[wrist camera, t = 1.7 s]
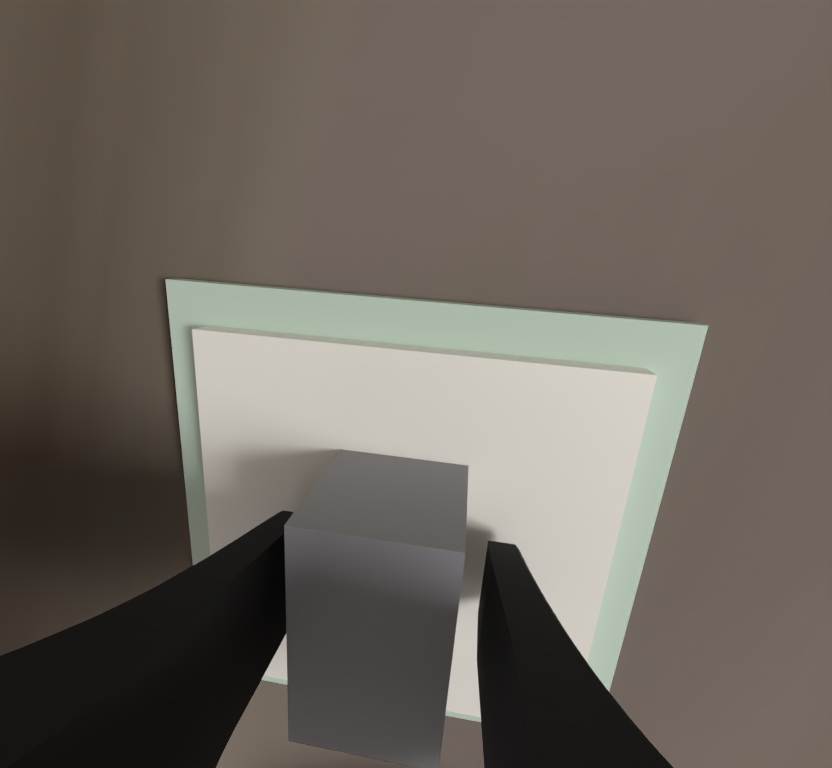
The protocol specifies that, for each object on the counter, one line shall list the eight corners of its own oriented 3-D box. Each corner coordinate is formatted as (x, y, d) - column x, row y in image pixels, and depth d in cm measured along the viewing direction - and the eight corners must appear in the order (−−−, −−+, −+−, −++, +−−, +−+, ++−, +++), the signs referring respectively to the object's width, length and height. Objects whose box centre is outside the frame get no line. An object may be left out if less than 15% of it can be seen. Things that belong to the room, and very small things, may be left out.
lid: (230, 649, 13) (142, 789, 9) (207, 325, 10) (68, 357, 7) (564, 711, 12) (601, 894, 8) (646, 368, 9) (751, 432, 6)
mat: (212, 654, 14) (202, 668, 13) (179, 278, 10) (165, 278, 10) (590, 725, 12) (595, 744, 12) (696, 322, 9) (708, 325, 9)
